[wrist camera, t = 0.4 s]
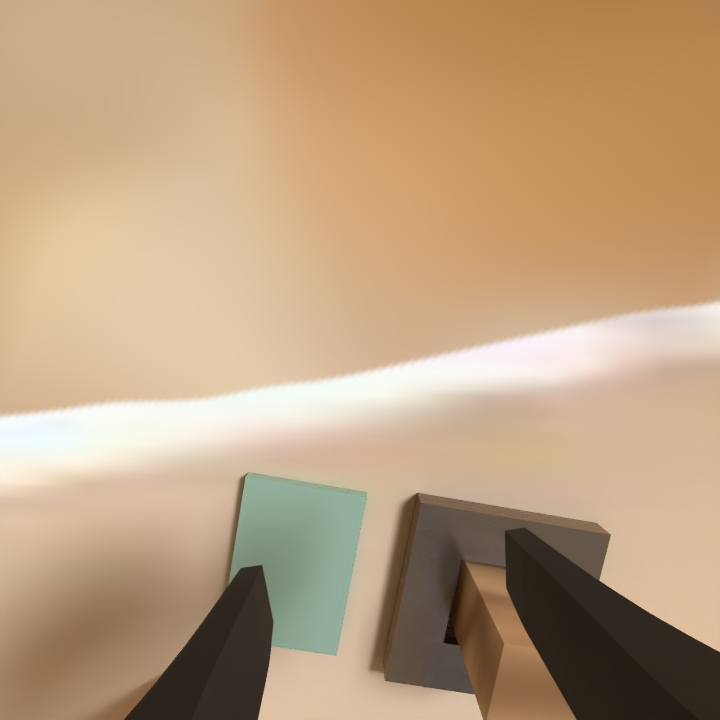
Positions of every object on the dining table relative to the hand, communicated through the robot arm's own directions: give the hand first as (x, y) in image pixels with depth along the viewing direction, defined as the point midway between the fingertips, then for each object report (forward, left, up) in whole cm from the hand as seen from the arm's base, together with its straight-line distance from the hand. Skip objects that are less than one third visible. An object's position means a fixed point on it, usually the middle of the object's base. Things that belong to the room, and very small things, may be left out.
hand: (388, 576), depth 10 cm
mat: (-7, +3, -11) cm, 13 cm away
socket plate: (-7, -9, -11) cm, 16 cm away
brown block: (-7, -9, -11) cm, 16 cm away
